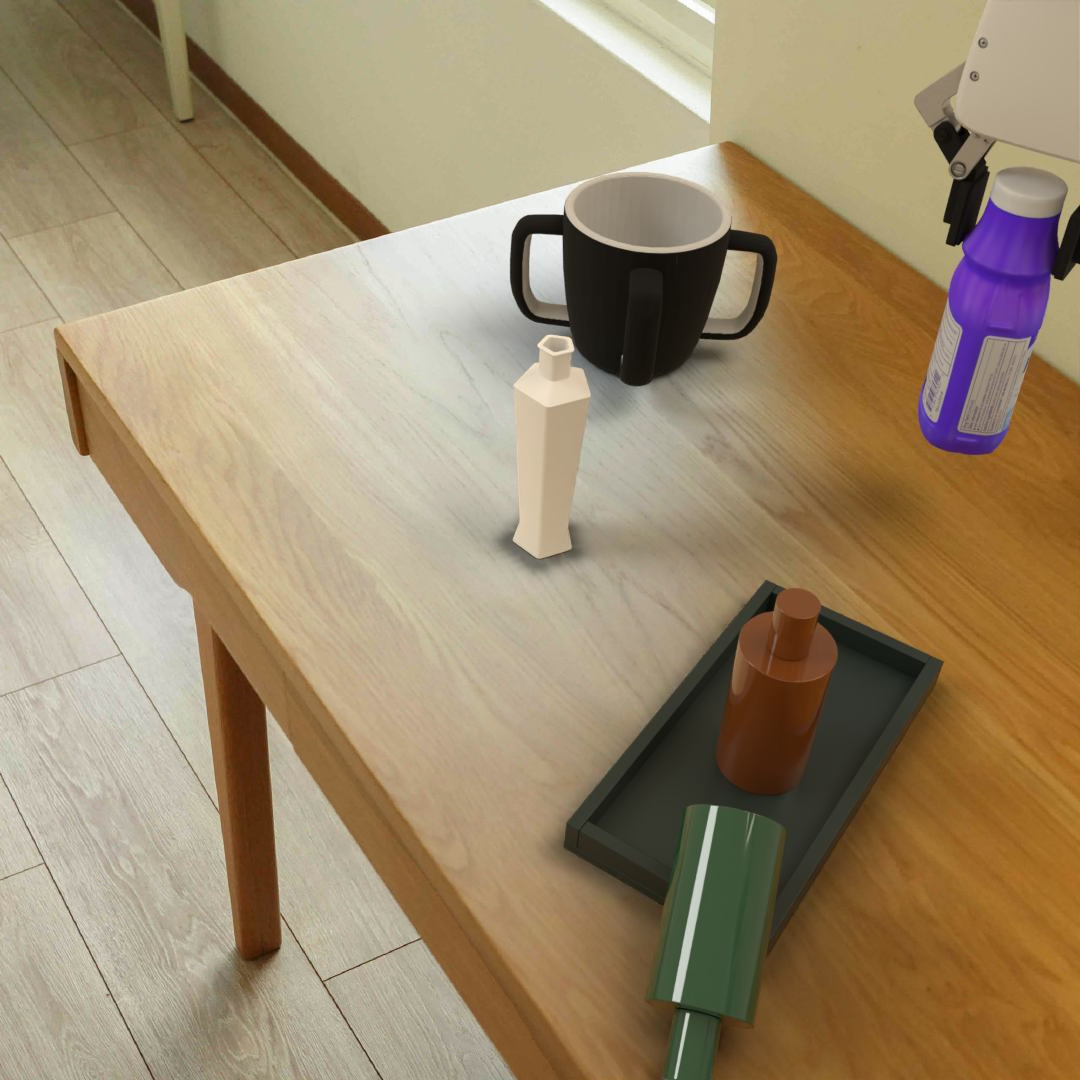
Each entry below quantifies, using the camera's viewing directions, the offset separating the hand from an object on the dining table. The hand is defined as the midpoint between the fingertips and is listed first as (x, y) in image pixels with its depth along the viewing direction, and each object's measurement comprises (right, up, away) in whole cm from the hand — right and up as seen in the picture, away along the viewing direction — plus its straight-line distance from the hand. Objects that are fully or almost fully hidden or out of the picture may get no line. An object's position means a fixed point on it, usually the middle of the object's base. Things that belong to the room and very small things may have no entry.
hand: (1011, 251), depth 79 cm
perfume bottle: (-27, -17, +9) cm, 34 cm away
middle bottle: (-15, -29, -5) cm, 33 cm away
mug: (-20, -2, +26) cm, 33 cm away
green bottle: (-18, -30, -15) cm, 38 cm away
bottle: (-1, -10, +8) cm, 13 cm away
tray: (-15, -29, -4) cm, 33 cm away
